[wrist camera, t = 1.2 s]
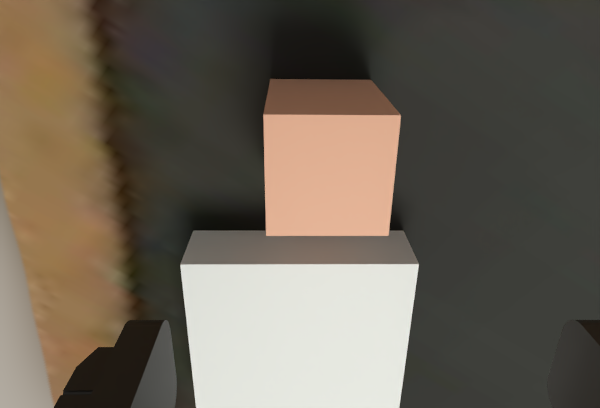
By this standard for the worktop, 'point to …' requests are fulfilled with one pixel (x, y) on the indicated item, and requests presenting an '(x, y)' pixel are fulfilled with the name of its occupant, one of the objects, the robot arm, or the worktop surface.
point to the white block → (298, 319)
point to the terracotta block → (329, 158)
